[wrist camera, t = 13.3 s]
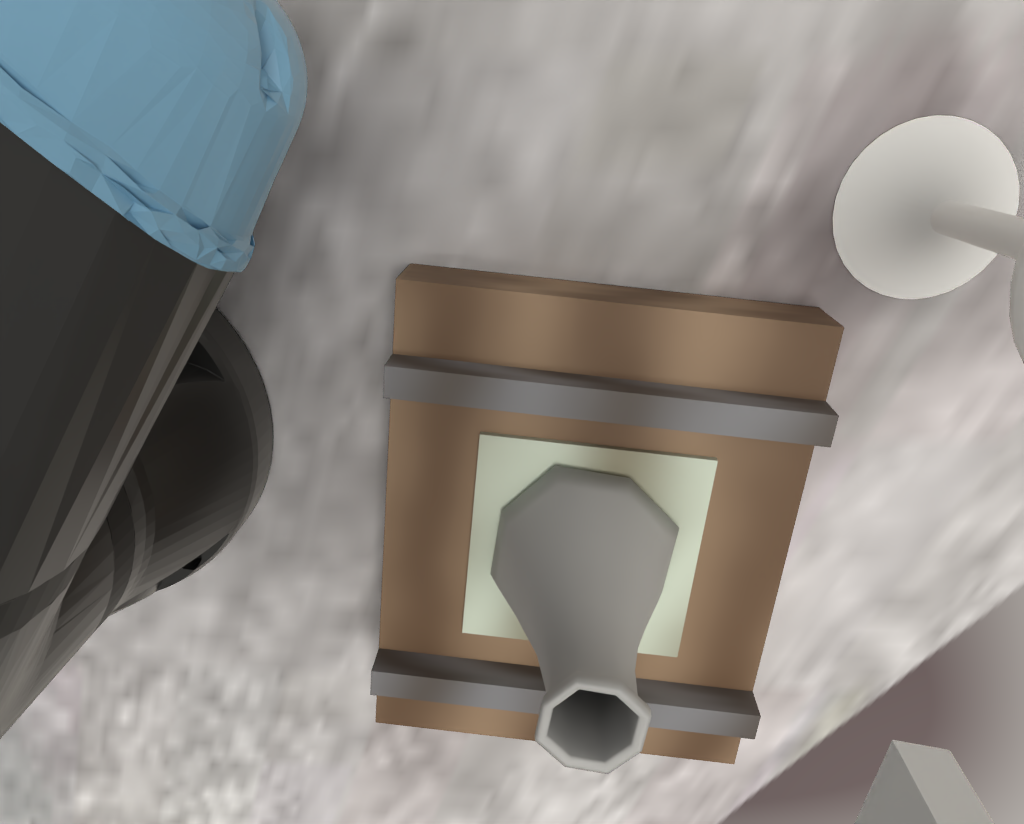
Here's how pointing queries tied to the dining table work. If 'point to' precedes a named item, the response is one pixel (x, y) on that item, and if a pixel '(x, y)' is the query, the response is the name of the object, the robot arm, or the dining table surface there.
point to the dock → (597, 448)
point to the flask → (585, 605)
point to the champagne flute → (931, 212)
